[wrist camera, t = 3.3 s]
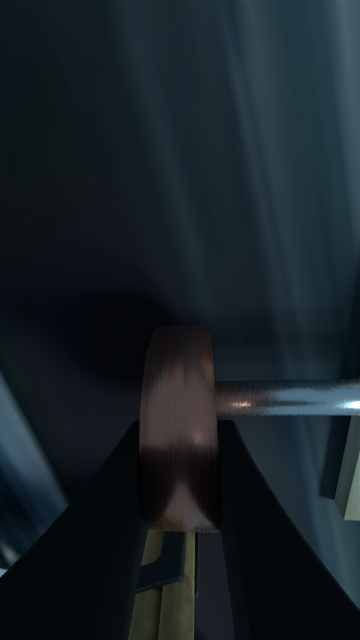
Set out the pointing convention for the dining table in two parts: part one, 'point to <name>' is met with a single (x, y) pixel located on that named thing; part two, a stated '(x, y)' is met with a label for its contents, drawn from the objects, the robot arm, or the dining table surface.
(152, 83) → the dining table surface
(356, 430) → the eye bracket
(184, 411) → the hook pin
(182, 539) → the ammunition clip
